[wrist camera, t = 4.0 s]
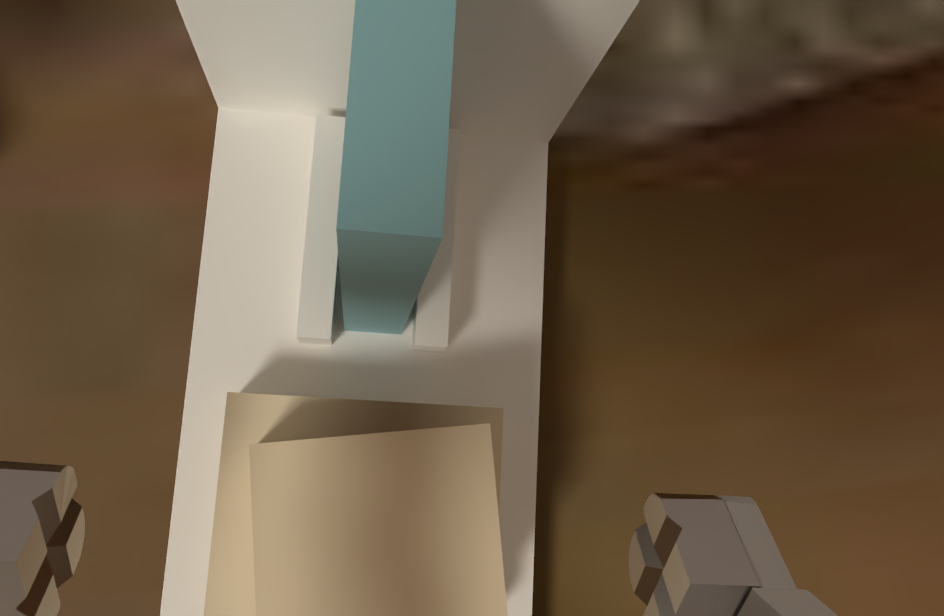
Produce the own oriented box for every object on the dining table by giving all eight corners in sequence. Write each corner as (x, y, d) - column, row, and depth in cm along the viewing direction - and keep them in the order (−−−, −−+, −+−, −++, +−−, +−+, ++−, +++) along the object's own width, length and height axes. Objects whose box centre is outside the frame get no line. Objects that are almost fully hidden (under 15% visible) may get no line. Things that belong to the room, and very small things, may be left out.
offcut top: (265, 637, 21) (257, 654, 20) (257, 444, 22) (248, 444, 20) (496, 608, 22) (508, 622, 21) (479, 424, 23) (490, 423, 21)
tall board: (344, 330, 25) (336, 228, 13) (358, 151, 26) (363, -90, 14) (400, 334, 25) (442, 237, 13) (413, 157, 26) (460, -76, 15)
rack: (164, 668, 24) (-135, 1020, 9) (230, 85, 27) (87, -331, 13) (519, 672, 25) (745, 982, 11) (539, 119, 29) (731, -218, 14)
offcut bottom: (213, 619, 23) (201, 633, 21) (236, 396, 24) (227, 392, 22) (483, 624, 24) (493, 638, 22) (493, 410, 25) (503, 408, 23)
